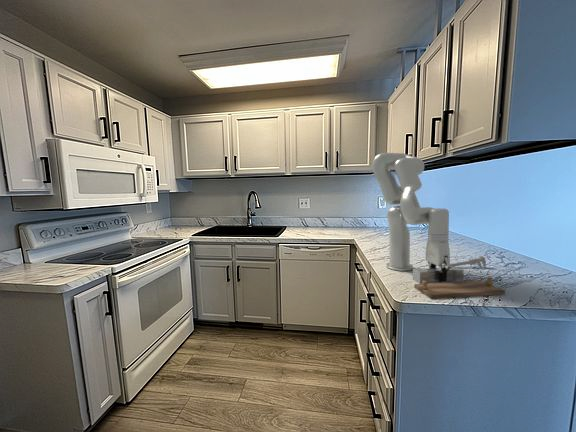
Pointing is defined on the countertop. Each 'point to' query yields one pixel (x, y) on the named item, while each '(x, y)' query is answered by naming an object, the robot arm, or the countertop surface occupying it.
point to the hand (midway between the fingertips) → (437, 278)
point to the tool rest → (458, 289)
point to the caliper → (471, 262)
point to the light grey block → (437, 275)
